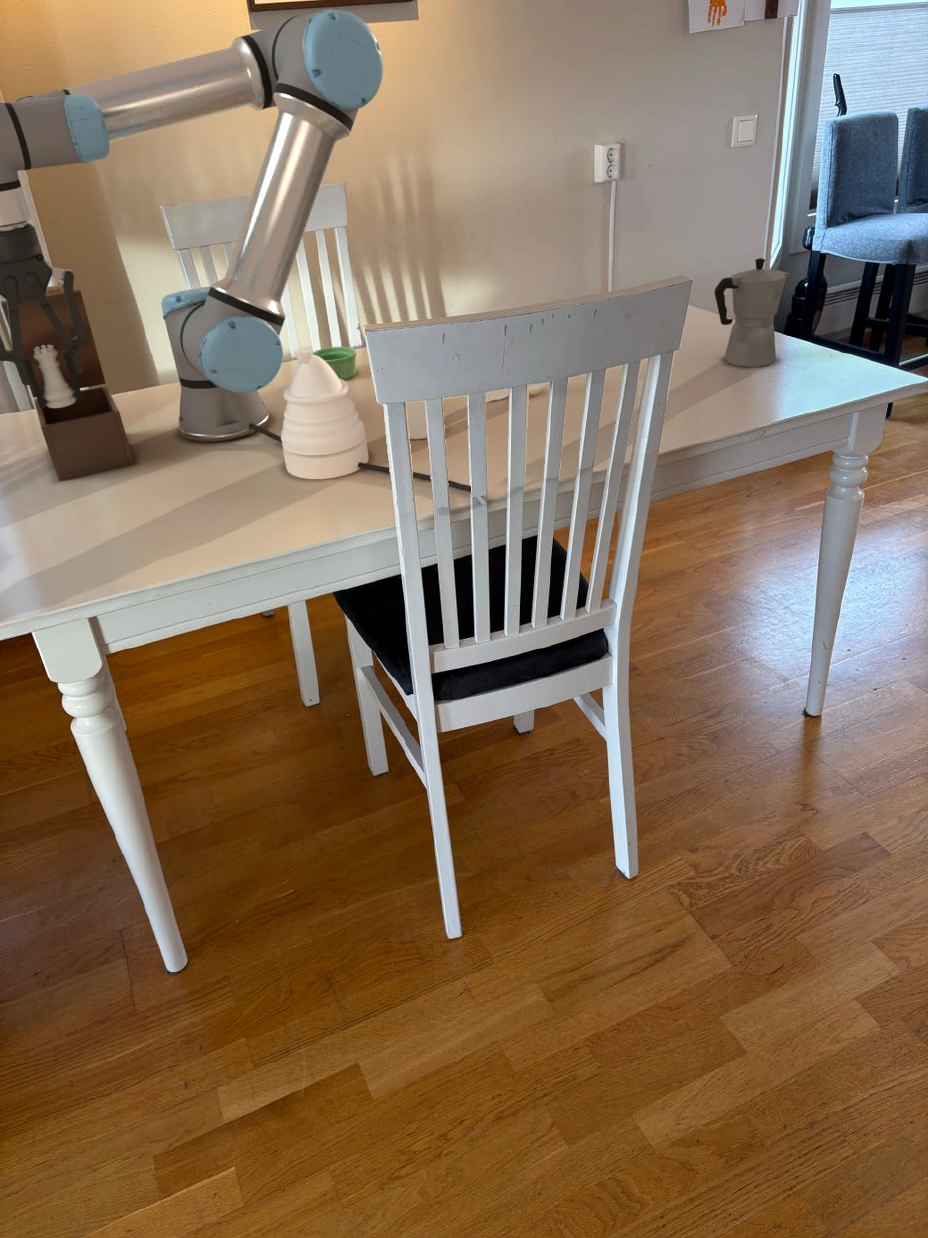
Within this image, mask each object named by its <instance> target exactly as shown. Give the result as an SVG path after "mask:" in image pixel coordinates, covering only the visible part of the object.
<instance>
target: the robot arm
mask: <svg viewBox="0 0 928 1238" xmlns="http://www.w3.org/2000/svg"><path fill="white" fill-rule="evenodd" d="M383 75H384V61H383V55H382V51H381V49H380V45H379V42H378V39H377V37H376V35H375V33H374V32H373V30H372V29H371V27H370V26H369V25H368V24H367V23H366V22H365V21H364V20H363V19H362V18H360V17H359V16H357V15H356V14H354V13H352V12H350V11H345V10H337V9H335V8H325V9H322V10H319V11H317V12H314V13H307V14H298V15H294V16H290V17H287V18H285V19H283V20H281V21H279V22H277V23H274V24H272V25H270V26H268V27H265V28H262V29H260V30H257V31H255V32H251V33H248V34H245V35H241V36H237V37H235V38H234V39H233V41H232V44H231V45H230V47H226V48H223V49H219V50H215V51H211V52H207V53H203V54H199V55H194V56H191V57H187V58H183V59H180V60H179V59H178V60H175V61H171V62H166V63H162V64H159V65H154V66H151V67H147V68H142V69H138V70H134V71H131V72H127V73H122V74H118V75H114V76H110V77H106V78H102V79H98V80H95V81H90V82H86V83H82V84H79V85H78V84H77V85H75V86H70V87H66V88H64V89H60V90H54V91H50V92H46V93H43V94H38V95H27V96H23V97H20V98H17V99H16V100H15V102H0V296H1V297H2V298H3V299H4V300H5V301H7V308H8V317H9V326H10V329H9V334H10V344H11V350H10V349H6V346H5V344H4V341H3V339H2V336H1V335H0V362H10V363H13V364H14V365H15V367H16V370H17V373H18V375H19V378H20V381H21V383H22V384H23V385H24V386H25V387H26V386H29V385H31V384H32V386H33V389H34V391H35V394H36V397H35V398H36V399H37V400H38V403H39V406H40V409H43V408H46V406H45V403H44V400H43V396H42V394H41V391H40V388H39V385H38V382H37V379H36V376H35V374H34V371H33V368H32V365H31V362H30V359H29V358H23V350H22V340H21V331H20V321H19V310H18V304H20V303H23V302H25V301H37V300H38V301H39V303H40V305H41V306H42V308H43V310H44V311H45V313H46V315H47V316H48V318H49V320H50V321H51V323H52V325H53V327H54V328H55V330H56V332H57V333H58V335H59V337H60V339H61V340H62V342H63V344H64V345H65V347H66V349H67V350H64V351H61V352H62V355H63V358H64V361H65V364H66V367H67V370H68V373H69V376H70V379H71V382H72V385H73V388H74V391H75V394H76V397H77V399H78V401H79V400H83V396H82V393H81V390H82V389H81V388H80V387H79V384H78V381H77V378H76V375H79V374H83V369H82V366H81V363H80V359H79V356H78V353H77V352H78V349H79V348H80V347H82V346H85V345H87V343H88V340H87V336H86V333H85V329H84V326H83V322H82V319H81V315H80V312H79V308H78V305H77V301H76V298H75V295H74V291H73V290H74V284H75V283H74V281H75V274H74V273H73V271H72V270H71V269H70V268H67V267H65V268H59V267H53V266H52V265H51V264H50V262H49V261H47V259H46V258H45V255H44V253H43V249H42V245H41V243H40V239H39V236H38V234H37V233H38V232H37V229H36V227H35V226H34V225H33V224H31V223H30V221H31V219H32V214H31V211H30V208H29V205H28V202H27V198H26V196H25V193H24V190H23V189H24V188H23V185H22V183H21V180H20V177H19V172H21V171H30V170H33V169H42V168H50V167H51V168H52V167H60V166H66V165H75V164H84V165H86V164H89V163H90V162H94V161H100V160H104V159H106V158H108V156H109V154H110V143H113V142H117V141H120V140H125V139H128V138H131V137H132V138H133V137H135V136H139V135H144V134H147V133H151V132H155V131H159V130H163V129H165V128H169V127H173V126H177V125H180V124H184V123H188V122H192V121H195V120H199V119H202V118H206V117H211V116H215V115H217V114H221V113H222V114H223V113H225V112H229V111H232V110H237V109H241V108H243V107H244V108H245V107H247V106H249V107H250V108H251V109H253V110H254V111H258V112H259V111H262V110H266V109H270V108H274V107H276V108H277V112H278V116H277V119H276V122H275V125H274V127H273V131H272V133H271V137H270V141H269V144H268V146H267V149H266V152H265V154H264V159H263V161H262V164H261V167H260V171H259V172H258V176H257V179H256V183H255V186H254V189H253V191H252V194H251V197H250V201H249V204H248V207H247V209H246V213H245V216H244V219H243V221H242V225H241V228H240V231H239V234H238V237H237V240H236V243H235V246H234V249H233V252H232V255H231V258H230V261H229V264H228V267H227V271H226V274H225V276H224V277H223V278H222V279H220V280H218V281H216V282H213V283H211V284H210V285H209V286H202V287H197V288H190V289H186V290H181V291H176V292H172V293H169V294H167V295H165V296H164V297H162V300H161V304H160V305H161V311H162V320H164V324H165V328H166V332H167V335H168V341H169V344H170V349H171V352H172V356H173V360H174V364H175V368H176V373H177V376H178V381H179V385H180V399H179V415H178V426H179V431H180V435H181V437H183V438H185V439H187V440H189V441H194V442H202V443H215V442H216V443H217V442H226V441H231V440H236V439H241V438H244V437H247V436H251V435H253V434H255V433H260V434H262V435H264V436H266V437H268V438H271V439H272V440H274V441H276V442H278V443H281V444H282V440H281V435H278V434H276V433H274V432H272V431H270V430H268V429H265V427H267V425H268V424H269V423H270V415H269V411H268V407H267V405H266V404H265V402H264V401H263V399H262V397H261V395H260V393H259V390H261V389H264V388H265V387H267V385H269V384H270V383H271V382H272V381H273V380H274V379H275V378H276V376H277V375H278V373H279V371H280V369H281V367H282V363H283V358H284V350H283V344H282V341H281V339H280V334H281V333H282V332H281V331H282V329H283V326H284V323H285V320H286V317H287V315H286V313H285V310H284V308H283V305H282V303H281V302H282V301H281V300H282V298H283V295H284V291H285V288H286V285H287V282H288V279H289V278H290V277H289V276H290V274H291V271H292V268H293V265H294V263H295V260H296V256H297V254H298V251H299V248H300V245H301V242H302V239H303V236H304V234H305V230H306V228H307V225H308V222H309V219H310V216H311V214H312V212H313V211H312V210H313V208H314V205H315V203H316V199H317V196H318V195H319V194H318V193H319V191H320V188H321V185H322V182H323V179H324V176H325V173H326V171H327V167H328V165H329V162H330V159H331V155H332V153H333V151H334V147H335V144H336V143H337V142H339V141H340V140H343V139H345V138H347V137H349V136H350V135H351V132H352V129H353V126H354V124H355V121H356V118H357V115H358V112H359V110H360V109H361V108H364V107H365V106H367V105H368V104H369V103H370V102H371V101H372V100H374V98H375V96H376V95H377V94H378V92H379V90H380V87H381V84H382V80H383ZM52 277H53V278H55V281H56V283H57V285H60V287H61V290H62V292H63V293H64V297H65V300H66V303H67V307H68V310H69V314H70V317H71V320H72V324H73V327H74V330H75V334H76V337H74V338H72V339H71V338H70V336H69V334H68V332H67V331H66V329H65V327H64V325H63V324H62V322H61V320H60V319H59V317H58V315H57V313H56V312H55V310H54V308H53V306H52V305H51V303H50V301H49V299H48V298H47V296H46V294H45V292H46V290H47V287H49V284H50V281H51V279H52ZM9 326H8V327H9ZM358 467H359V468H361V469H364V470H368V471H369V470H370V471H374V472H380V473H381V472H382V473H386V474H390V473H389V468H390V467H388V466H383V465H376V464H371V463H361V462H360V463H358ZM412 472H413V477H412V478H413V479H419V480H423V481H428V482H432V481H431V479H430V474H426V473H421V472H416V471H412ZM448 480H449V481H448V483H449V486H448V487H449V488H453V489H456V490H460V491H465V492H468V493H470V494H471V486H472V485H469V484H463V483H460V482H456V481H453V480H451V479H448Z"/></svg>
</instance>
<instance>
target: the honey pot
mask: <svg viewBox="0 0 928 1238" xmlns="http://www.w3.org/2000/svg"><path fill="white" fill-rule="evenodd" d="M313 352H314V350H313V348H311V347H301V348H297V349H295V350H294V355H295V358H296V359H297V361H298V362H299V363H298V364H297V366H296V368H295V370H294V373H293V377H292V380H291V383H290V385H288V386H287V387H286V388H285V389H284V390H283V394H282V396H283V398H284V400H285V401H286V407H285V409H284V411H283V417H284V419H283V422H282V430H281V433H280V437H281V440H282V443H281V446H282V452H283V457H284V463H285V468H286V470H287V472H288V473H289V474H290V475H292V476H294V477H297V478H300V479H306V480H328V479H334V478H339V477H344V476H347V475H350V474H352V473H355V472H357V471H359V470H361V469H362V468H359V467H358V463H360V462H361V463H366V464H368V462H369V457H370V456H369V449H368V443H367V436H366V428H365V424H364V422H363V421H362V420H361V418H360V414H359V412H358V411H357V410H356V405H355V403H354V402H353V400H352V398H351V397H350V395H349V393H351V385H350V383H349V382H348V381H346V380H342V379H339V378H338V377H337V375H336V374H335V372H334V371H333V370H332V368H331V367H330V366H329V365H328V364H327V363H326V362H325V361H324V360H323V359H322V358H320V357H318V356H316V355H313Z"/></svg>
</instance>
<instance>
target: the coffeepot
mask: <svg viewBox="0 0 928 1238" xmlns="http://www.w3.org/2000/svg"><path fill="white" fill-rule="evenodd" d="M765 262H766V259H765V258H764V257H763V258H762V257H759V258H756V259H755V268H751V269H747V270H743V271H740V272H737V273H734V274H732V275H731V276H729V277H724V278H722V279H721V280H720V281H719V282H718V284H717V285H716V286H715V289H714V296H715V302H716V306H717V311H718V316H719V320H720V324H721V325H722V326H728V325H731V324H732V327H731V329H730V334H729V339H728V342H727V346H726V350H725V354H724V359H725V361H726V363H728V364H730V365H732V366H736V367H742V368H759V367H765V366H769V365H771V364H773V363H774V362H775V361H776V360H777V358H776V357H777V356H776V354H777V352H776V335H775V325H774V316H775V315H777V313H778V310H779V307H780V302H781V299H782V294H783V291H784V287H785V283H786V280H787V278H788V277H789V276H791V273H790V272H787V271H782V270H773V269H767V268H764V266H765ZM727 289H731V290H732V291H731V292H732V308H733V309H732V310H733V314H734V315H735V316H734V317H735V319H734V320H733V318H728V317H727V315H728V309H727V306H726V296H725V291H726V290H727ZM733 321H734V323H733Z"/></svg>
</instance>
